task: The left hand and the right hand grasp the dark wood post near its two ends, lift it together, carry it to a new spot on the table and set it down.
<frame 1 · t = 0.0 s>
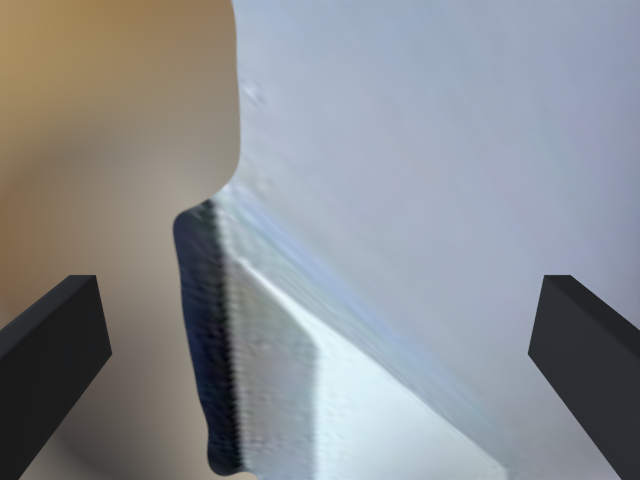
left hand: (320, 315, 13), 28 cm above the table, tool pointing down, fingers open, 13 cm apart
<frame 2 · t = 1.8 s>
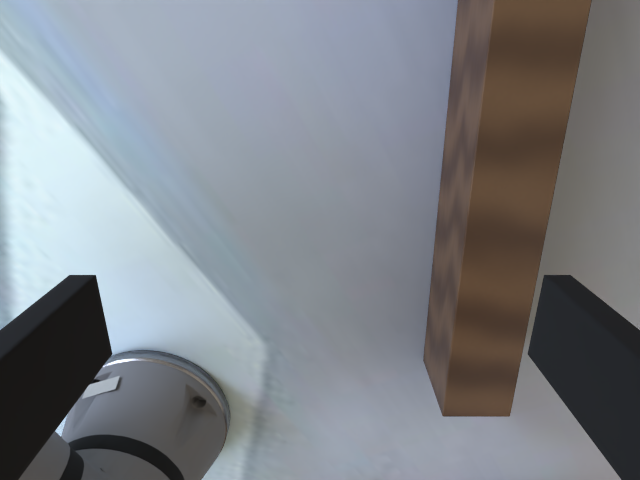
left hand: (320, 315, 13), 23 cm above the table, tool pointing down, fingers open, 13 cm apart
post: (488, 67, 32), on the table
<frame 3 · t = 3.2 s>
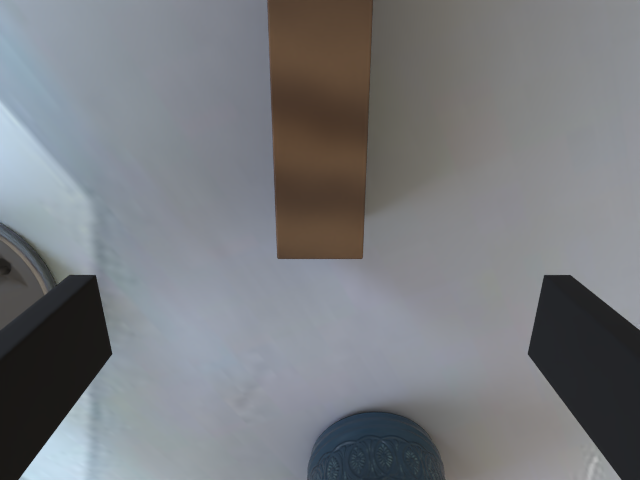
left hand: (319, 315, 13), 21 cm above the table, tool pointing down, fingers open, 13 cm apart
canister: (372, 457, 43), on the table
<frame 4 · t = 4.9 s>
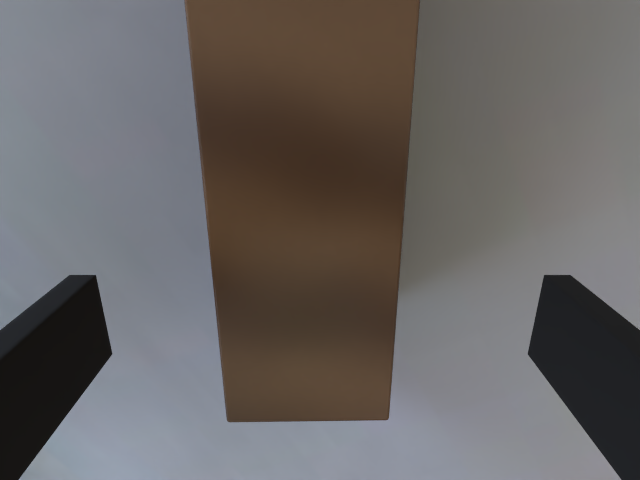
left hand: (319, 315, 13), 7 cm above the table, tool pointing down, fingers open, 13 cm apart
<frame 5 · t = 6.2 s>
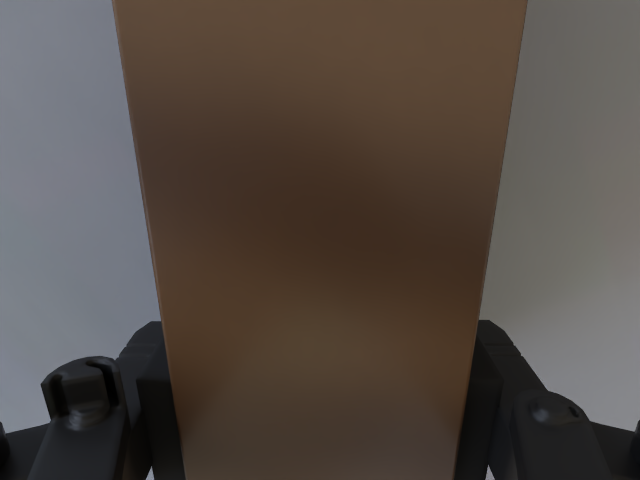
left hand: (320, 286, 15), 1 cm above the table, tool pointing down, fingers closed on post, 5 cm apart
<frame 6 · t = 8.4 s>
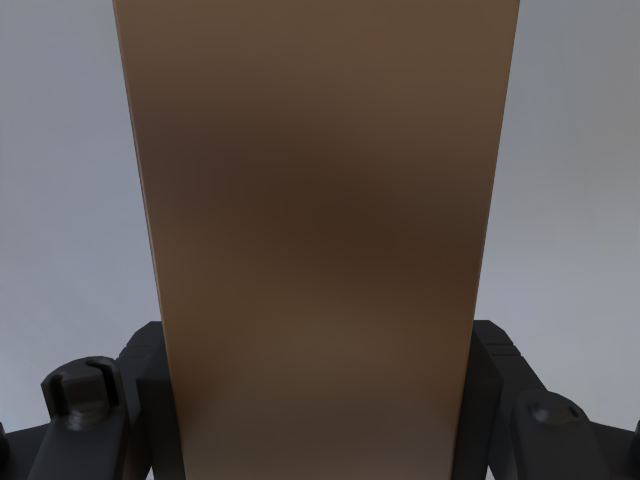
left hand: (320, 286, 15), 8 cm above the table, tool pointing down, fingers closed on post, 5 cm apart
when the left hand's fingers open (2 cm above the table, at t = 10.5 s): post drops 1 cm, on the table.
when the right hand's fingers open (2 cm above the table, at t = 10.5 s): post drops 1 cm, on the table.
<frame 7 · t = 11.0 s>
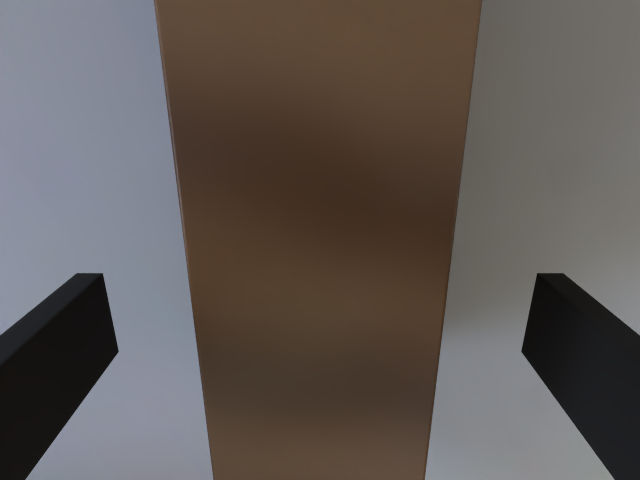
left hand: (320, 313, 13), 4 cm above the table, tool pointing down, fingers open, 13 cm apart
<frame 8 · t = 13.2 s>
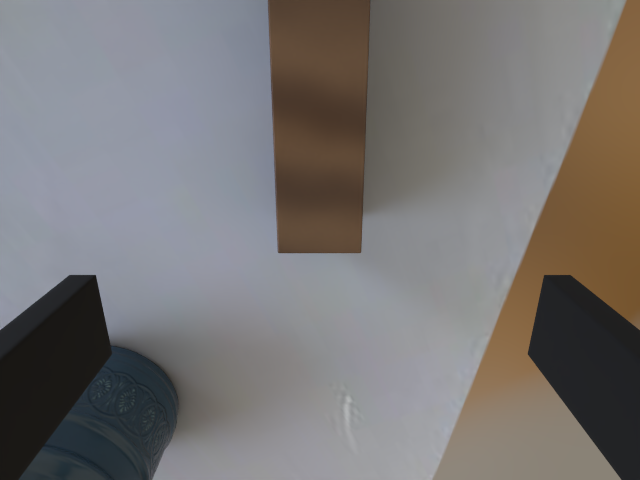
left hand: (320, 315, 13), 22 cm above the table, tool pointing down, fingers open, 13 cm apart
canister: (114, 397, 41), on the table
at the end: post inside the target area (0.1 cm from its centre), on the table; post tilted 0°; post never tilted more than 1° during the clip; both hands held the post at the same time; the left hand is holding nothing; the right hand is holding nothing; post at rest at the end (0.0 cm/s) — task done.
